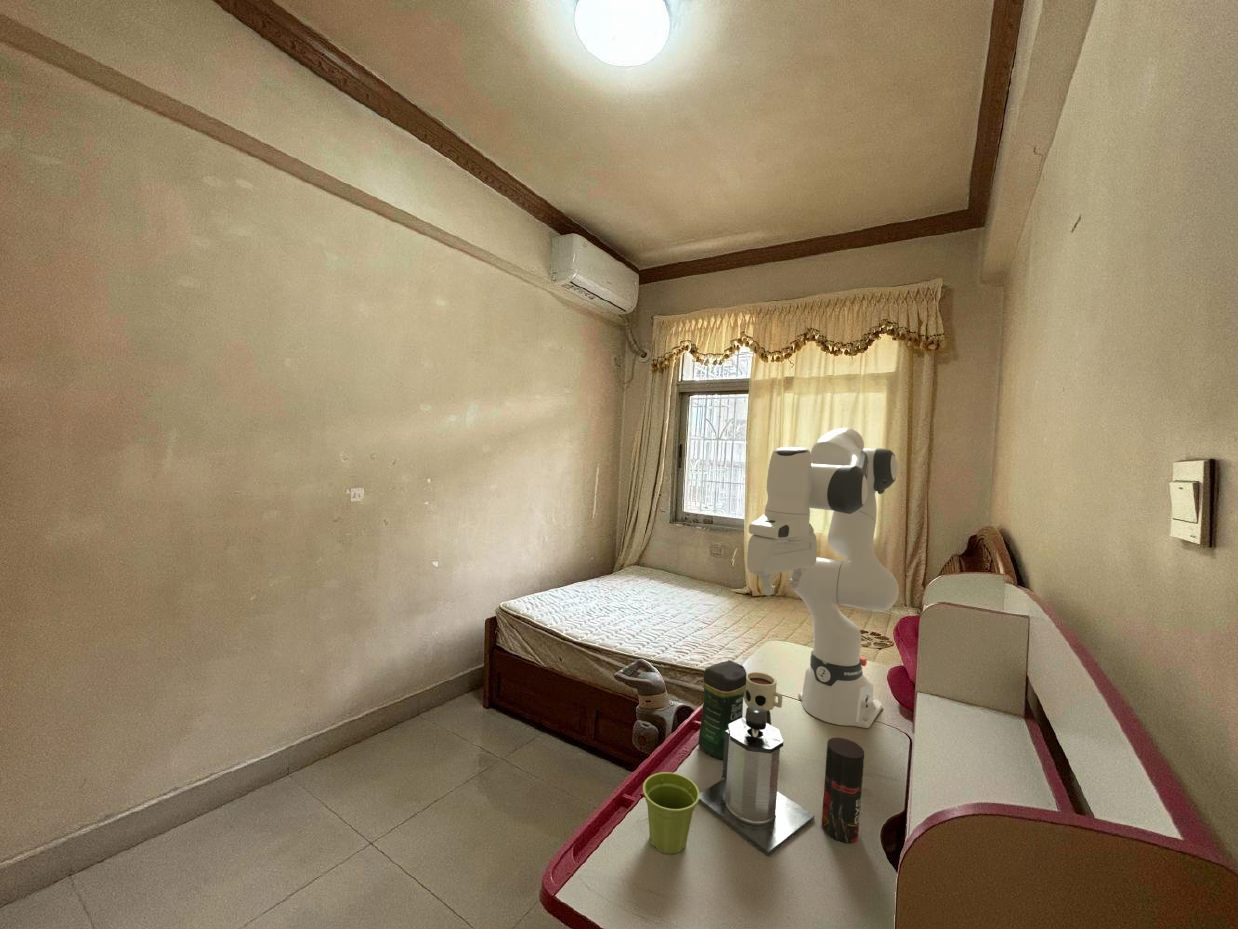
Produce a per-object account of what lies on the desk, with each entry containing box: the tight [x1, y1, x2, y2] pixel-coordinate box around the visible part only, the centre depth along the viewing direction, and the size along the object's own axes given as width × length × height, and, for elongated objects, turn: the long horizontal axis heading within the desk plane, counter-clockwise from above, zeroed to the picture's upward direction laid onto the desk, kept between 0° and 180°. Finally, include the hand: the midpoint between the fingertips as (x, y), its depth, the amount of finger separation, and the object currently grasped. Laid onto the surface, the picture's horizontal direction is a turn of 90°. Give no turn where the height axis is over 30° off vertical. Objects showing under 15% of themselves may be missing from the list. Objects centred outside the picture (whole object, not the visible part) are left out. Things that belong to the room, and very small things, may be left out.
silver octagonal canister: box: [698, 717, 815, 857], centre depth 92 cm, size 14×16×15 cm
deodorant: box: [821, 737, 865, 845], centre depth 88 cm, size 6×6×15 cm
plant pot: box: [642, 771, 700, 855], centre depth 84 cm, size 9×9×9 cm
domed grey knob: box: [745, 706, 767, 737], centre depth 91 cm, size 4×4×14 cm
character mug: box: [743, 671, 783, 726], centre depth 118 cm, size 11×7×13 cm, turn 48°
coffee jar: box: [698, 659, 748, 760], centre depth 111 cm, size 10×8×19 cm
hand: (781, 591), depth 104 cm, fingers open, 8 cm apart
